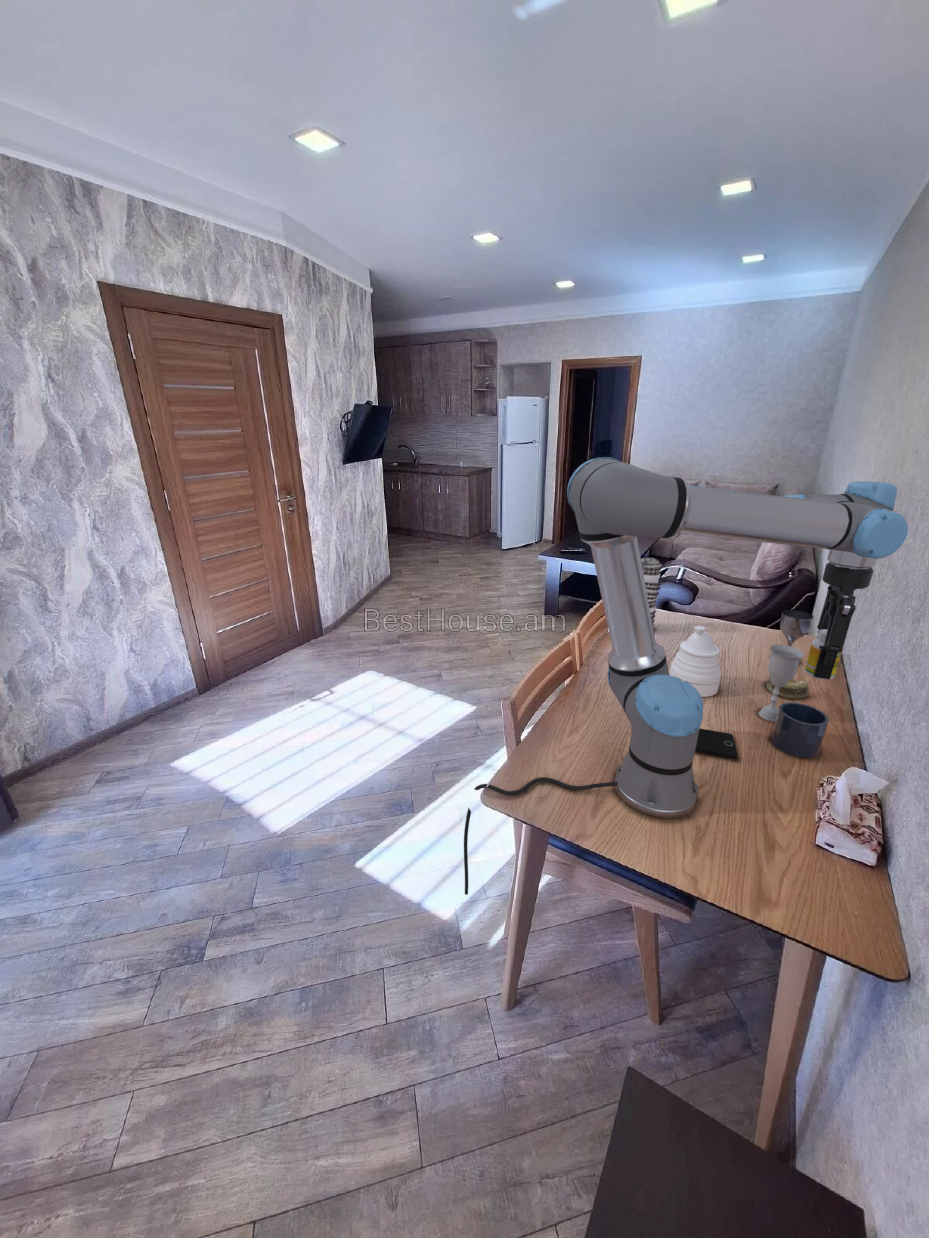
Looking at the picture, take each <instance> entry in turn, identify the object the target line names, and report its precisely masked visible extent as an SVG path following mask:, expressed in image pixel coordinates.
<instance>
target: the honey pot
mask: <svg viewBox="0 0 929 1238" xmlns="http://www.w3.org/2000/svg"><path fill="white" fill-rule="evenodd" d="M679 648H680V649H679V650H678V651H677V652H676V656H674V659H673V660H672V661H671V662H670V668H669V674H670V676H674V677H677V678H680V679H681V681H682V682H688V683H689V684H691V685H692V686H693V687H695V688H696V689H697V691H698V692H699V693H700V695H701V697H702V698H707V697H711V696H714V695H716V694H717V693H718V691H719V686H720V681H721V677H722V671H721V669H720V660H719V655H720V654H721V650H720V648H719V647H718V646H717V645H716V644H715V642H714V640H713V638H712V636H711V634H710V633H709V632H708V631H707V630H706V626H702V625H696V626H694V632H693V633H692V634H690V635H689V636H688V638H687V639H685V640H683V641H682V642H681V643H680V645H679Z"/></svg>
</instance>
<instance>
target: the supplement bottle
mask: <svg viewBox="0 0 929 1238" xmlns="http://www.w3.org/2000/svg"><path fill="white" fill-rule="evenodd" d="M818 630H819V629H818ZM826 633H827V629H822V630H819V633H818V632H817V636H818V638H817V637H816V638H815V639H813V640H812V642H811V644H810V648H809V652H808V656H807V659H806V663H805V665H804V666H805V667H804V672H805V673H806V674H807V675H808V676H809V677H811V678H814V679H817V680H823V681H824V680H826V681H827V680H828V681H829V679H823V678H817V677H814V672H815V669H816V665H817V662H818V658H819V655H820V651H821V649H819V646H824V643H825V638H826ZM842 654H843V651H842V652H838V654H837V657H836V661H835V664H834V667H833V671H832V674H831V677H830V680H832V679H835V677H836V674H837V670H838V667H839V663H840V660H841V658H842Z"/></svg>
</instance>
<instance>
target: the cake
mask: <svg viewBox="0 0 929 1238" xmlns="http://www.w3.org/2000/svg"><path fill="white" fill-rule="evenodd" d="M765 687H766V689H767V690H768V691H769V692H770V693H772V694H773V692H772V691H774V689H775V685H773V684H772V682H771V678H770V677H769V680H768V682H767V683H766V685H765ZM809 688H810V687H809V683H808V682H807V681H804V680H796V678H794V677H793V678H792V679H791V680H790V681H789V682H788V683H787V684H786V685H785V686H784V687H780V688H779V693H780V694H778V696H779V697H782V698H784V699H785V698H787V699H791V700H793V699H795V700H796V699H797V700H799V699H804V698H806V697H808V696H809V693H810V692H809V691H810V690H809Z"/></svg>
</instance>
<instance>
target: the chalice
mask: <svg viewBox="0 0 929 1238" xmlns="http://www.w3.org/2000/svg"><path fill="white" fill-rule="evenodd" d="M769 647H770V648H769V649H770V652H771V653H770V657H769V660H768V665H767V668H768V675H769V679H770V678H771V682H772V684H773V685H775V689H774V691H772V692H773V693H772V692H771V693H772V696H771V697H770V698H769V699H770V704H766V705H764V706H763V707H762V708H761V709H760V710H759V711H758V716H759V717H760V718H762V719H763V720H766V721H768V722H774V723H775V721H776V718H777V714H778V710H779V707H777V706H776V703H777V702H778V701H779V699H778V696H779V695H778V694H780V693H779V688H780V687H784V686H785V685H786V684H787V683H788V682H789V681H790V680H791V679H792V678H794V677H795V675H796V674H797V671H798V668H799V665H800V661H801V659H802V658H803V657H804V652H803V651H802V650H801V649H798V648H797V647H794V646H787V645H786V644H772V645H771V646H769Z"/></svg>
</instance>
